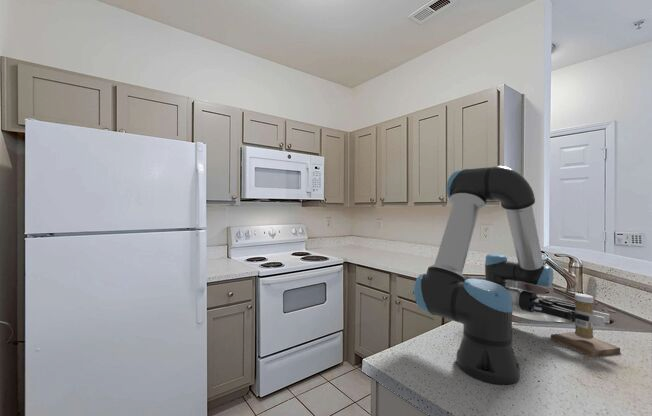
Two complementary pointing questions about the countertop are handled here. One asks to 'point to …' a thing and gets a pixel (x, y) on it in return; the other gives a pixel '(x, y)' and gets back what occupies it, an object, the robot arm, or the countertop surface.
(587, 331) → the sprinkles bottle
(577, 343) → the walnut board
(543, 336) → the countertop surface
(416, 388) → the countertop surface
